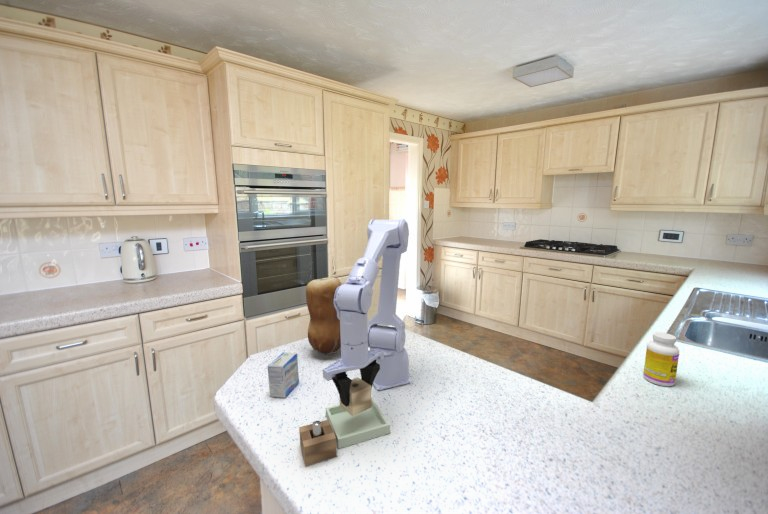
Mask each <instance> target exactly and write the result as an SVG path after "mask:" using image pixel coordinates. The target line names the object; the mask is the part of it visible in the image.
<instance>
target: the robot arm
mask: <svg viewBox="0 0 768 514" xmlns="http://www.w3.org/2000/svg"><path fill="white" fill-rule="evenodd" d="M409 233H410V229H409V224H408V222H407V220H406V219H405V218H401V219H375V218H372V219H370V221H369V222H368V224H367V231H366V234H367V239H368V241H367V245H366V248H365V250H364V253H363V255H362V257H359V258H357V260H355V262H354V265H353V266H352V268H351V270H350V272H349V274H348V277H347V279H346V281H345V282H344V283H342V285H341V286H339V287H338V288H337V289H336V292H335V296H334V307H335V309H336V311H337V317H338V319H339V320H340V336H341V348H340V353H341V354H340V358H339V359H337V360H336V361H334V362H333V363H331V364H329V365H328V366H326V367H324V368H322V378H323V379H325V380H326V381H327V382H330V381H333V383H334V385H335V388H336V390H337V393H338V394H339V395H338V396H340V398H339V400H340V399H341V403H342V404H343V405H345V406H346V407H347V406H349V402H350V397H349V392H350V385H351V381H352V379H351V378H350V377H348V374H347V372H349V371H350V372H351V371H357V370H359V372H360V379H362V380H363V381H365V382H366V383H368V384H369V385H371V390H372V389H373V386H374V387H375V389H376V390H377V391H382V390H386V389H391V388H394V387H399V386H403V385H406V384H410V383H411V381H410V379H409V378H410V377H409V375H410V373H409V371H410V369H409V366H410V365H409V363H410V361H409V355H408V351H407V349H406V348H405V344H406V325H405V324H406V323H405V322H404V321H403V320H402V319H401V318H400V317H399V316H398V315H397V312H396V311H397V304H398V303H397V301H398V289H399V277H400V266H401V259H402V254H405V253H407V251H408V246H409V244H408V243H409ZM381 257H382V258H381ZM381 259H382V262H381V271H380V267H379V264H378V263H379V261H380V260H381ZM379 272H380V273H381V275H380V283H379V284H380V285H379V296H378V305H377V306H378V307H377V314H375V315H374V316H372V317H371V318H370V319H368V313H369V311H370V309H371V305H372V299H373V293H374V289H373V287H374V285H375V283H376V280H377V277H378V274H379Z"/></svg>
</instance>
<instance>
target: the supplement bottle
mask: <svg viewBox="0 0 768 514" xmlns="http://www.w3.org/2000/svg"><path fill="white" fill-rule="evenodd" d="M676 342H677V337H676V336H675V335H673V334H672V333H671V334H670V333H667V332H662V331H661V332H660V331H656V332H653V333H652V340H651V341H648V343H647V344H646V348H645V349H646V350H645V351H646V352H645V358H644V366H643V373H642V374H643V375H642V376H643V377H644V379H645V380H646V381H648V382H650V383H652V384H655V385H657V386H661V387H672V386H674V385H675V383H676V379H677V372H678V365H679V357H680V349H679V348H678V347H677V346H676V345H675V344H676Z"/></svg>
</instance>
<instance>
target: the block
mask: <svg viewBox="0 0 768 514" xmlns="http://www.w3.org/2000/svg"><path fill="white" fill-rule="evenodd" d="M351 380H352V381H351V385H350V392H349V397H350V402H349V406H347V407H346V406H345V405H343V404H342V403H341V399H340V396H339V395H338V396H339V398H338V399H339V405H340V406H341V407H342V408H343V409H344V410H345V411H347V412H348V413H349V414H350V415H352V416H355V415H357V414H359V413H361V412H363V411H365V410H367V409H369V408H371V407H372V399H371V397H372V389H371V385H369V384H368V383H366V382H365V381H363V380H362V379H361V377H359V376H357V377H354V378H352V379H351Z"/></svg>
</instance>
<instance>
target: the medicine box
mask: <svg viewBox="0 0 768 514" xmlns="http://www.w3.org/2000/svg"><path fill="white" fill-rule="evenodd" d="M267 375H268V377H267V378H268V379H267V380H268V388H269V389H268V390H269V396H270V397H272V398H281V399H286V398H287V397H288V396H289V394H290V393H291V392H292V391H293V390H294V388H295V387H296V386H297V385H298V384H299V382H300V377H299V376H300V372H299V360H298V353H296V352H288V351H283V352H282V353H280V355H279V356H278V357H276V358H275V359H274V360H273V361H272V362H270V363H269V364H268V365H267Z"/></svg>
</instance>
